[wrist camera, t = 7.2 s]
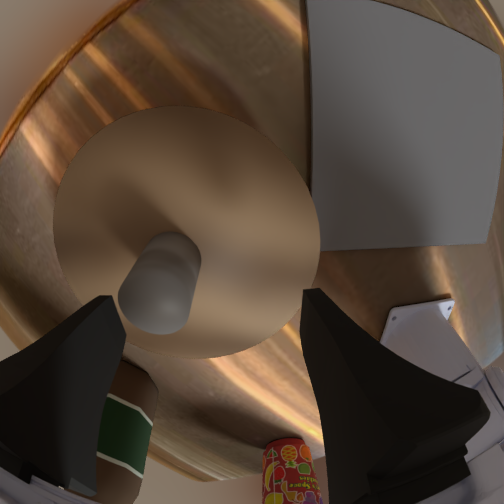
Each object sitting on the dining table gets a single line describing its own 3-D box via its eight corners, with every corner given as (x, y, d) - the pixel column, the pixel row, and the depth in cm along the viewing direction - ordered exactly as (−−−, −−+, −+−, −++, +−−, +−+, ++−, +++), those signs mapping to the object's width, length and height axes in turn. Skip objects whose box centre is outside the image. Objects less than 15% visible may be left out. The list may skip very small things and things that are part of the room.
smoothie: (324, 439, 34) (345, 552, 16) (284, 457, 36) (295, 560, 19) (287, 428, 31) (303, 563, 13) (245, 447, 34) (249, 565, 16)
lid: (300, 349, 18) (312, 406, 14) (95, 341, 18) (72, 389, 13) (327, 109, 12) (371, 106, 7) (45, 129, 11) (-15, 143, 7)
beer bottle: (130, 404, 28) (97, 574, 7) (82, 366, 25) (23, 549, 4) (174, 392, 27) (151, 598, 5) (122, 348, 23) (60, 583, 2)
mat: (482, 241, 20) (485, 243, 19) (307, 248, 19) (309, 251, 19) (495, 55, 12) (499, 55, 11) (304, -9, 11) (305, -12, 11)
